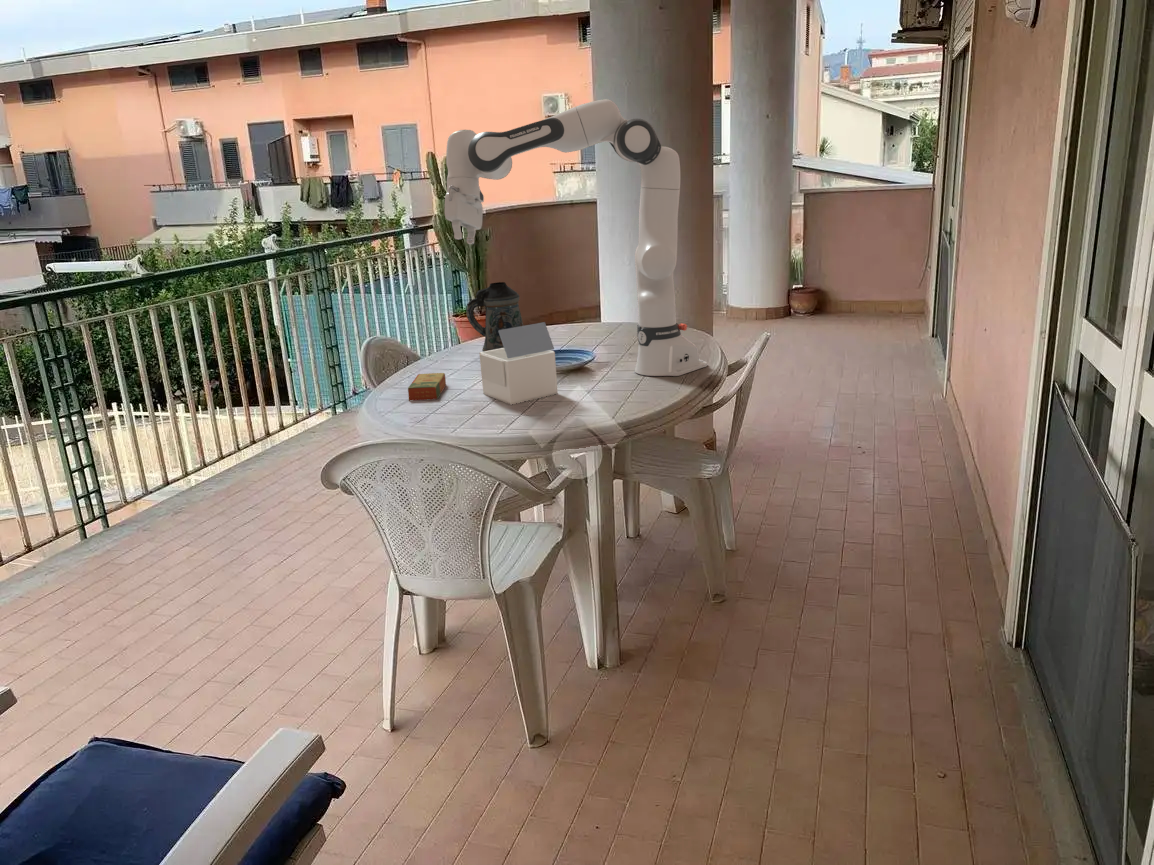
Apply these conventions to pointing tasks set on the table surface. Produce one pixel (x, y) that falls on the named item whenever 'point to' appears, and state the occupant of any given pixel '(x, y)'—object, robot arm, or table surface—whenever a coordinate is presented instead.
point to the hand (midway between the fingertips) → (464, 241)
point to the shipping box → (518, 375)
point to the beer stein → (495, 313)
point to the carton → (427, 386)
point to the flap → (526, 340)
